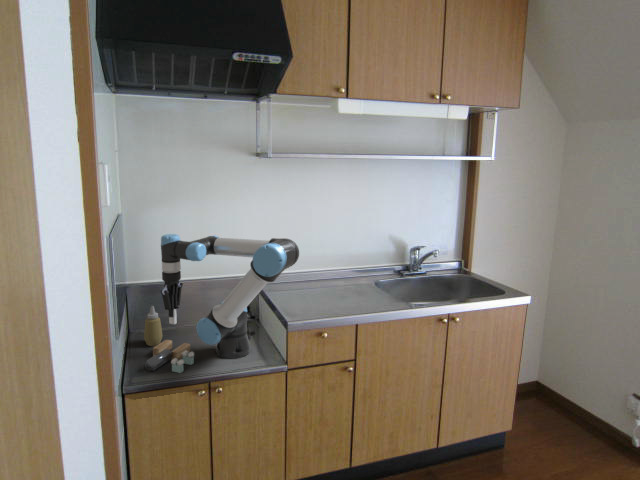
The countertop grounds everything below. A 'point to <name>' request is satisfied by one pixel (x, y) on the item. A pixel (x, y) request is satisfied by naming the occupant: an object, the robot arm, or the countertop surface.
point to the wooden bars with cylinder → (168, 345)
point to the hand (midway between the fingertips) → (173, 323)
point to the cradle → (182, 361)
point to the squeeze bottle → (152, 328)
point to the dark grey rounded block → (158, 360)
